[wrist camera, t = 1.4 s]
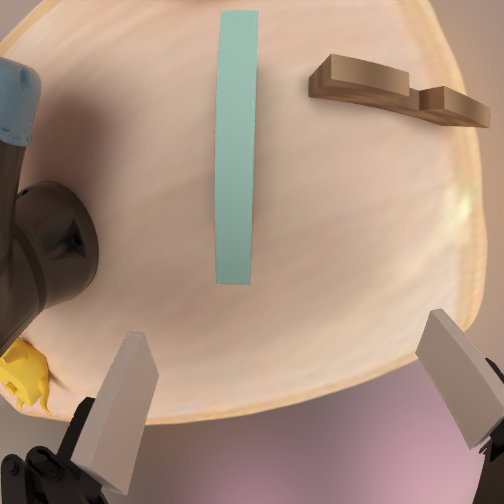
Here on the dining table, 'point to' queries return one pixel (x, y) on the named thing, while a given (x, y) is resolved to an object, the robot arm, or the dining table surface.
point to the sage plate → (235, 145)
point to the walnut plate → (393, 93)
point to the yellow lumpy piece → (25, 374)
